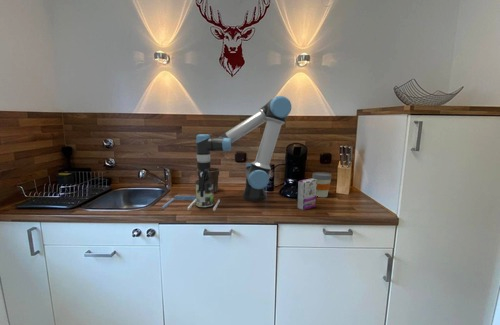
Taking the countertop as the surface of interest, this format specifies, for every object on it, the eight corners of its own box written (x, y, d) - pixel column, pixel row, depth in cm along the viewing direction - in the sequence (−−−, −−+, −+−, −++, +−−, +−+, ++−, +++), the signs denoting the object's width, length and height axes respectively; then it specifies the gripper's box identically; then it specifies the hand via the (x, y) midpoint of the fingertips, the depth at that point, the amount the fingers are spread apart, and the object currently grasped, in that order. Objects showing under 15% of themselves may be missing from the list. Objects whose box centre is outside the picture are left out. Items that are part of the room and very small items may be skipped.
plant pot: (194, 190, 171) (193, 168, 169) (215, 187, 179) (215, 166, 176) (200, 196, 157) (200, 172, 155) (223, 193, 165) (223, 170, 162)
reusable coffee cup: (327, 199, 153) (329, 176, 151) (308, 196, 160) (309, 174, 157) (332, 194, 164) (333, 173, 161) (314, 191, 170) (315, 171, 168)
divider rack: (220, 200, 149) (220, 196, 148) (214, 210, 131) (214, 206, 130) (173, 199, 150) (173, 195, 150) (161, 209, 133) (161, 204, 132)
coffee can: (216, 202, 143) (215, 179, 141) (210, 207, 133) (209, 183, 131) (200, 200, 145) (199, 178, 143) (193, 206, 135) (192, 182, 133)
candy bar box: (309, 204, 143) (310, 178, 141) (316, 206, 139) (317, 179, 137) (296, 208, 137) (297, 180, 134) (303, 210, 133) (304, 182, 130)
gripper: (202, 158, 146) (203, 193, 150) (191, 164, 124) (192, 205, 128) (214, 158, 146) (215, 193, 150) (205, 165, 124) (206, 205, 127)
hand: (204, 198), depth 139 cm, fingers closed on coffee can, 10 cm apart
